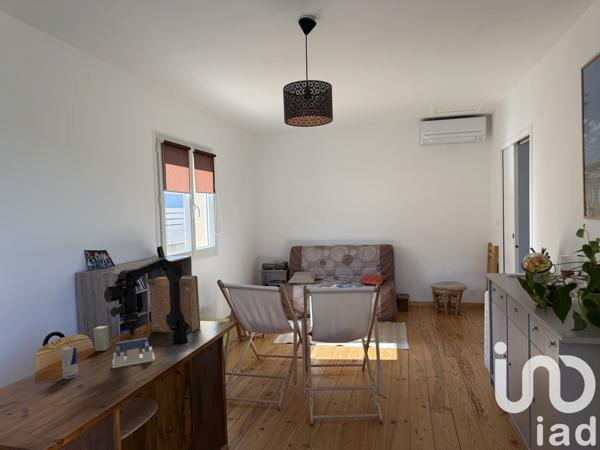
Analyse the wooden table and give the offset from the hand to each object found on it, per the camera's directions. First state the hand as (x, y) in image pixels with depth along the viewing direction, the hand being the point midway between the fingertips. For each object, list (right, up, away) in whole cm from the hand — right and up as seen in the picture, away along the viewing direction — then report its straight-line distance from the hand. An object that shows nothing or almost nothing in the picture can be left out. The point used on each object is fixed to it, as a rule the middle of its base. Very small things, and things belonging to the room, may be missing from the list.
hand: (131, 332), depth 185 cm
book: (+7, -11, +45) cm, 47 cm away
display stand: (+2, -12, -2) cm, 12 cm away
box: (-22, -13, +18) cm, 31 cm away
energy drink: (-18, -14, -17) cm, 28 cm away
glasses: (+2, -7, -3) cm, 8 cm away
